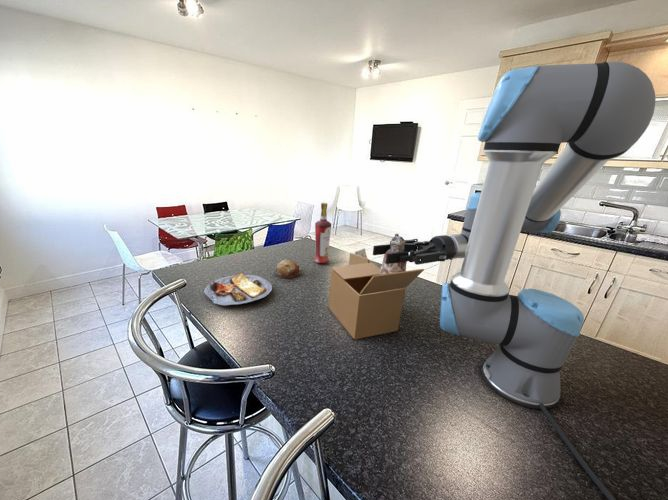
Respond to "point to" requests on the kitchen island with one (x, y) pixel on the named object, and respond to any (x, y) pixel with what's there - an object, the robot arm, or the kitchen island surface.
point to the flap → (390, 281)
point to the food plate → (237, 289)
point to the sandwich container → (357, 259)
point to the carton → (363, 301)
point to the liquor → (322, 237)
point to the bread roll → (287, 269)
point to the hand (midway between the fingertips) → (380, 254)
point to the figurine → (396, 247)
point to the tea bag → (361, 253)
